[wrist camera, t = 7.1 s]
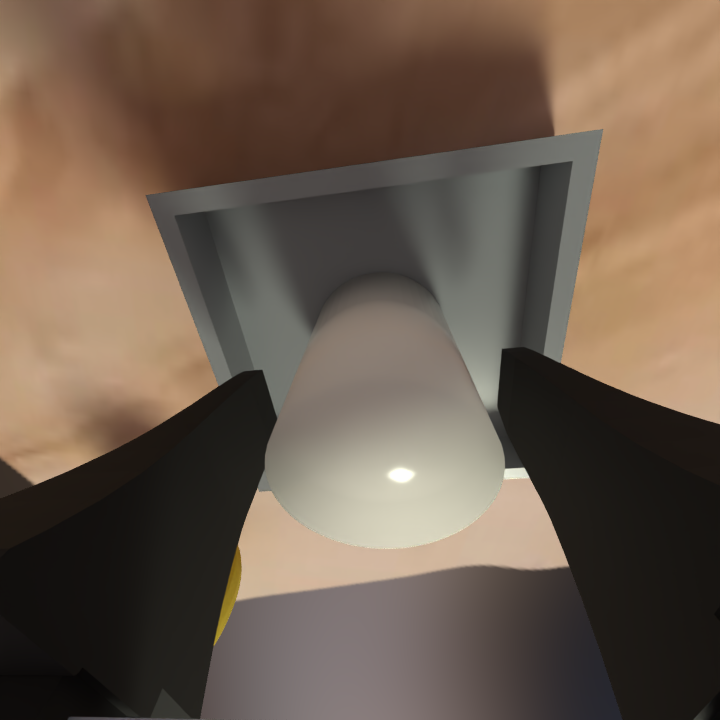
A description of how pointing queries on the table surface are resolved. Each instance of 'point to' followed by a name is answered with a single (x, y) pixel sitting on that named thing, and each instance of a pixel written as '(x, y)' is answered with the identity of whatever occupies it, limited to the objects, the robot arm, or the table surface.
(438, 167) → the tray
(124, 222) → the table surface
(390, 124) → the table surface
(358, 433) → the capsule
